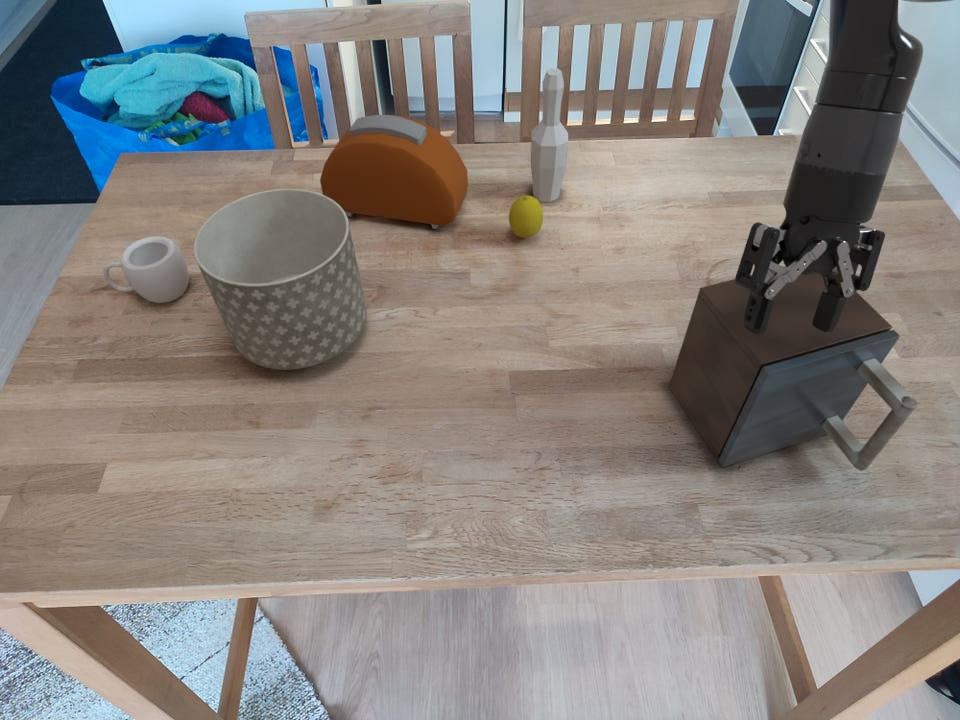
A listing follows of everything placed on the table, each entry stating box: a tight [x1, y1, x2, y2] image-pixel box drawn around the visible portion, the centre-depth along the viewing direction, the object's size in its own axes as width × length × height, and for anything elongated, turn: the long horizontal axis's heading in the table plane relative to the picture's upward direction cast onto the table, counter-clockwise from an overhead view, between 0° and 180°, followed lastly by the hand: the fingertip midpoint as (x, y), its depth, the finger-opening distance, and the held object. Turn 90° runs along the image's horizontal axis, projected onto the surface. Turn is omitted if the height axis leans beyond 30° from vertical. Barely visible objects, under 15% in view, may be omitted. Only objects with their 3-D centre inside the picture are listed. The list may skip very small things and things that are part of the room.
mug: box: [102, 235, 190, 304], centre depth 99 cm, size 12×8×8 cm
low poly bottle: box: [530, 67, 569, 203], centre depth 108 cm, size 6×6×22 cm
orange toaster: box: [319, 114, 469, 230], centre depth 108 cm, size 23×9×17 cm, turn 76°
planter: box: [193, 188, 368, 371], centre depth 89 cm, size 19×19×18 cm
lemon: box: [508, 194, 544, 239], centre depth 106 cm, size 6×6×8 cm
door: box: [717, 329, 918, 471], centre depth 72 cm, size 8×16×18 cm, turn 108°
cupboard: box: [668, 265, 893, 460], centre depth 79 cm, size 12×16×18 cm
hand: (788, 330), depth 65 cm, fingers open, 8 cm apart
